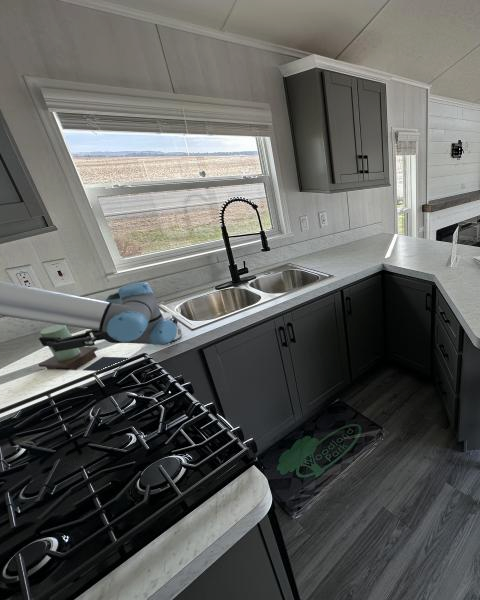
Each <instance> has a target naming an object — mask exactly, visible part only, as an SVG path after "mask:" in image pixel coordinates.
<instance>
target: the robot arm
mask: <svg viewBox="0 0 480 600" xmlns="http://www.w3.org/2000/svg"><path fill="white" fill-rule="evenodd" d="M117 292H119V295H120V299H121V300H122V303H121V305H120V304H115V303H109V302H106V301H105V300H104V301H103V300H98V299H94V298H88V297H84V296H78V295H73V294H68V293H64V292H58V291H54V290H53V291H52V290H49V289H44V288H38V287H32V286H28V285H23V284H18V283H14V282H13V283H12V282H9V281H8V282H7V281H1V280H0V316H2V317H7V318H13V319H21V320H27V321H34V322H40V323H46V324H54V325H58V324H59V325H66V326H67V327H73V328H79V329H86V331H85V332H82V333H79V334H75V335H72V336H70V337H66V338H62V339H61V338H60V337H42V336H40V337H38V340H39V342H40V344H41V345H42V346H43V347H48V346H49V347H52V348H53V350H54V351H55V352H58V351H63V350H69V349H74V348H80V347H95V346H96V344H95V342H97V341H103V340H104V341H106V342H107V343H111V344H139V345H141V344H142V345H154V346H155V345H156V346H157V345H168V344H167V343H170V342H171V341H172V340H174V338H175V337H176V334H177V327H176V324H175V323H174V322H172V321H171V320H166V319H164V318H163V316H162V314H161V313H162V312H161V309H160V307H159V304H158V301H157V299H156V296H155V294H154V293H155V292H154V291H153V289H152V288H151V285H150V284H149V283H148V282H144V281H139V282H138V281H137V282H132V283H129V284H125V285H123V286H121V287H120V288H118V291H117ZM170 344H171V343H170ZM49 347H48V348H49Z"/></svg>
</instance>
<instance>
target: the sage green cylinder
mask: <svg viewBox="0 0 480 600" xmlns="http://www.w3.org/2000/svg"><path fill="white" fill-rule="evenodd" d="M40 335H41V337H60V338H61V339H62V338H66V337H70V336H73V335H72V333H71V332H70V330H69V327H68V326H66V325H59V324H54V325H51V326H48V327H45V328H44V329H42V330H40ZM47 347H48V348H49V350H50V352H51V353H52V355H53V356H54V357H55V358H56V360H57V361H63V360H67V359H70V358H73V357H75V356H77V355H78V354H80V350H79V348H74V349H69V350H63V351H58V352H55V351H54V350H53V348H52V347H49V346H47Z"/></svg>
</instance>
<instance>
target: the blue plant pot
mask: <svg viewBox="0 0 480 600" xmlns="http://www.w3.org/2000/svg"><path fill="white" fill-rule="evenodd" d="M104 301H105V302H109V303H115V304H120V305H121V303H122V300H121V299H120V295H119V292H118V291H117V292H114V293H111V294H108V295H106V297H104Z"/></svg>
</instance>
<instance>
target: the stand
mask: <svg viewBox="0 0 480 600" xmlns="http://www.w3.org/2000/svg"><path fill="white" fill-rule="evenodd" d="M79 350H80V354H78V355H77V356H75V357H73V358H70V359H67V360H63V361H57V360H56V358H55V357H54V355H53V356H51V357H49V358H47V359H45V360H43V361H41V362H40V363H38V364H37V365H38V366H39V367H40V368H46V370H59V371H76V370H79V369H80V368H81V367H83V366H85V365H86V364H88V363H89V362H91V361H92V360H94V359H95V358H97V355H96V351H97V350H99V348H98V347H97V346H85V347H80V348H79Z"/></svg>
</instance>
